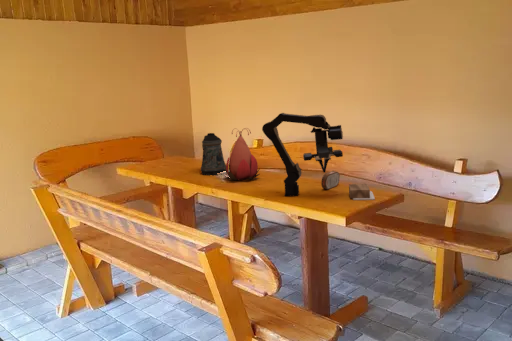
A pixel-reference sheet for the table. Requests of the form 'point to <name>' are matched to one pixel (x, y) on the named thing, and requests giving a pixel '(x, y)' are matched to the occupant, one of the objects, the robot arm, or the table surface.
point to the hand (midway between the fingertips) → (324, 172)
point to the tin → (330, 180)
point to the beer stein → (212, 155)
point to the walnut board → (359, 191)
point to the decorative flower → (241, 162)
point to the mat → (366, 198)
